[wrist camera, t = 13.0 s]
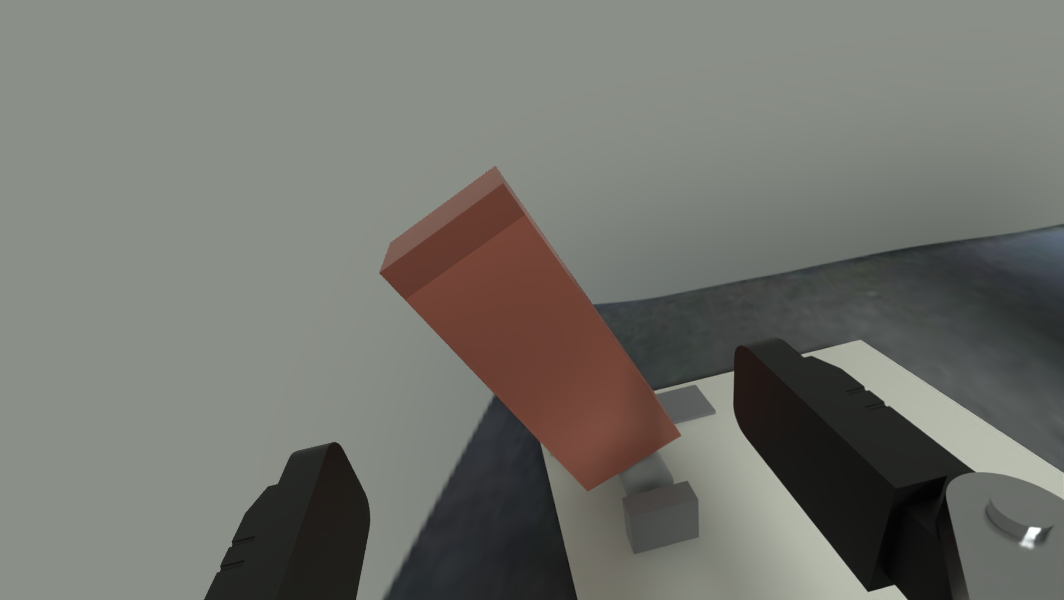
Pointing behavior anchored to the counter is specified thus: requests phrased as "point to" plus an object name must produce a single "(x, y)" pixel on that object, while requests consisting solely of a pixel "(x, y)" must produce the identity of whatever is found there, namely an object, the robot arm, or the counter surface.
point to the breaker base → (749, 500)
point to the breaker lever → (532, 335)
